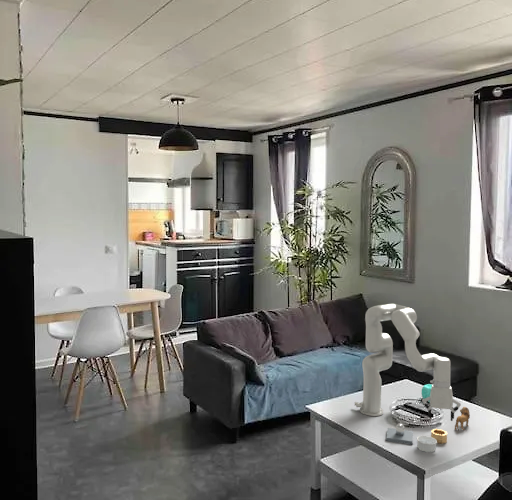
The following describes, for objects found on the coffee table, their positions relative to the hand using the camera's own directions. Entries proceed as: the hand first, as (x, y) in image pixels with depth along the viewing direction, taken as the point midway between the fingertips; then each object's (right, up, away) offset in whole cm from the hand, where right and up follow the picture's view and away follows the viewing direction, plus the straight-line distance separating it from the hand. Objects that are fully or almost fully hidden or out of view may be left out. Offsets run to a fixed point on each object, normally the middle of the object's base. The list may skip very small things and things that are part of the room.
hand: (440, 418), depth 254 cm
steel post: (-19, -9, +4) cm, 21 cm away
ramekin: (-9, -12, -7) cm, 17 cm away
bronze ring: (-1, -11, +1) cm, 11 cm away
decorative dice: (+13, -7, +55) cm, 57 cm away
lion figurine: (+17, -10, +17) cm, 26 cm away
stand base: (-19, -10, +4) cm, 22 cm away
